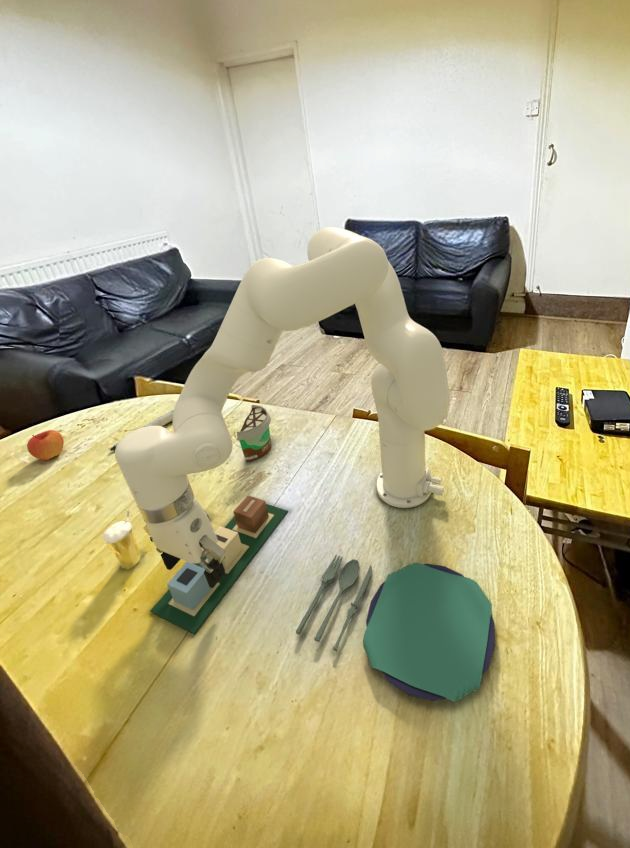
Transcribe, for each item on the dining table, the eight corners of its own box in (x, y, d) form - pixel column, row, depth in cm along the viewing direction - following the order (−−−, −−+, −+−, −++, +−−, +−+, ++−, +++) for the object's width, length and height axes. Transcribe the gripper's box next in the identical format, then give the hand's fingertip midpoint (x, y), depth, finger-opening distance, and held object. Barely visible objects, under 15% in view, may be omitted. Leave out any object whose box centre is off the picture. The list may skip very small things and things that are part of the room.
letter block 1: (242, 548, 80) (237, 531, 78) (226, 569, 76) (220, 552, 74) (224, 541, 81) (219, 525, 79) (207, 561, 78) (202, 544, 76)
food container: (268, 465, 101) (261, 432, 97) (244, 466, 101) (235, 433, 97) (281, 433, 112) (274, 402, 108) (258, 434, 113) (251, 403, 108)
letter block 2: (269, 516, 86) (265, 500, 84) (255, 533, 83) (250, 517, 81) (251, 510, 88) (247, 494, 86) (237, 527, 84) (232, 511, 82)
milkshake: (153, 550, 81) (137, 513, 77) (130, 575, 76) (112, 537, 72) (135, 544, 82) (119, 508, 78) (112, 568, 78) (93, 531, 74)
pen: (176, 414, 124) (173, 406, 123) (182, 417, 122) (179, 409, 121) (108, 451, 110) (104, 442, 109) (113, 455, 108) (109, 446, 107)
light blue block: (212, 586, 73) (206, 569, 71) (193, 610, 69) (186, 593, 67) (193, 577, 75) (187, 560, 73) (173, 601, 71) (166, 583, 69)
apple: (73, 452, 110) (62, 428, 107) (41, 469, 105) (28, 444, 101) (61, 443, 114) (50, 420, 111) (30, 460, 108) (17, 435, 105)
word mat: (287, 511, 88) (287, 510, 88) (194, 634, 66) (193, 632, 66) (250, 499, 92) (250, 498, 91) (150, 612, 70) (149, 610, 70)
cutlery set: (483, 734, 53) (484, 725, 52) (286, 648, 64) (284, 639, 63) (502, 591, 70) (503, 582, 69) (343, 541, 80) (342, 533, 79)
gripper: (226, 495, 64) (249, 567, 72) (147, 470, 71) (176, 539, 78) (189, 534, 58) (219, 609, 66) (107, 503, 65) (142, 575, 72)
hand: (196, 571), depth 72 cm, fingers open, 9 cm apart
